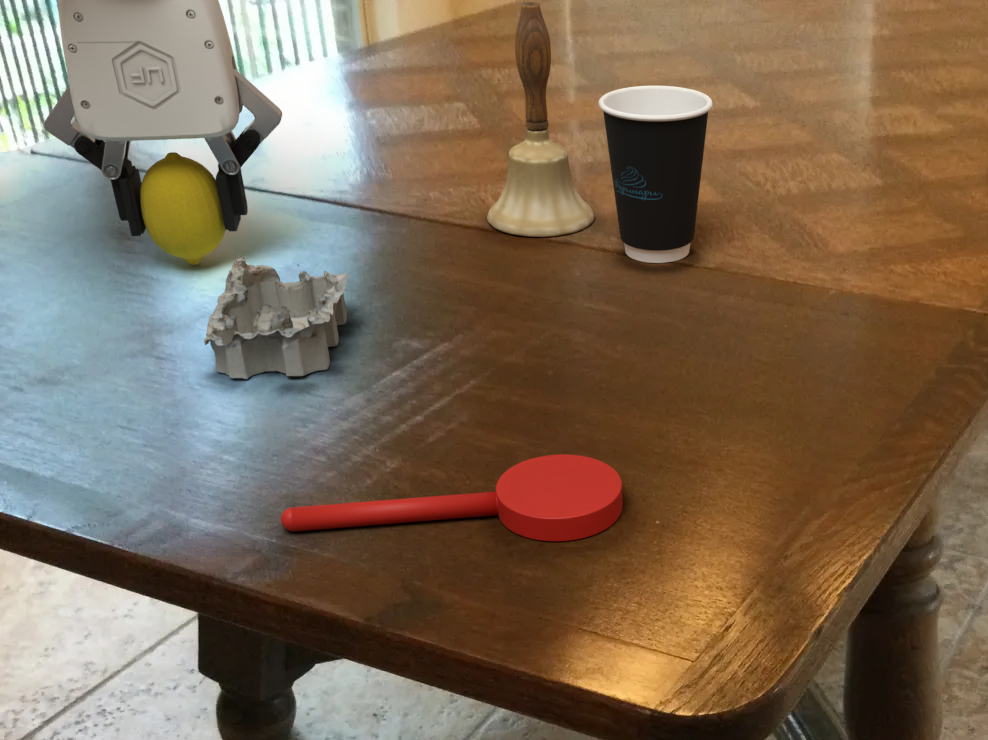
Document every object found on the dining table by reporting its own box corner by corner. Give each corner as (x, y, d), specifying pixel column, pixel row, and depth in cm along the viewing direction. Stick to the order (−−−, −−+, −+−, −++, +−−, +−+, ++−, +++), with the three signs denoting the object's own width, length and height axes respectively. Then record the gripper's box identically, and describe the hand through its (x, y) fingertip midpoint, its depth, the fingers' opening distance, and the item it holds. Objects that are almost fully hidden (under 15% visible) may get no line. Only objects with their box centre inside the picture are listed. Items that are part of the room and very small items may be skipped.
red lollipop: (276, 566, 64) (272, 541, 64) (288, 497, 70) (284, 474, 69) (630, 536, 67) (629, 512, 66) (615, 472, 72) (614, 449, 72)
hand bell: (615, 214, 106) (610, 0, 97) (548, 245, 100) (536, 21, 91) (534, 194, 110) (521, -14, 101) (465, 223, 104) (445, 5, 95)
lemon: (239, 273, 95) (217, 160, 90) (155, 283, 93) (129, 168, 89) (232, 246, 99) (211, 137, 95) (152, 255, 97) (127, 145, 93)
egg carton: (248, 311, 89) (237, 252, 87) (362, 312, 90) (354, 253, 87) (199, 382, 80) (185, 318, 78) (325, 382, 81) (315, 319, 78)
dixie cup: (603, 272, 96) (598, 116, 90) (603, 232, 103) (598, 85, 97) (714, 270, 97) (716, 115, 90) (707, 231, 103) (708, 84, 97)
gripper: (-34, -37, 80) (45, 253, 90) (265, -42, 83) (310, 240, 93) (-1, -59, 86) (69, 214, 96) (276, -63, 89) (317, 204, 99)
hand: (187, 224), depth 94 cm, fingers closed on lemon, 5 cm apart
